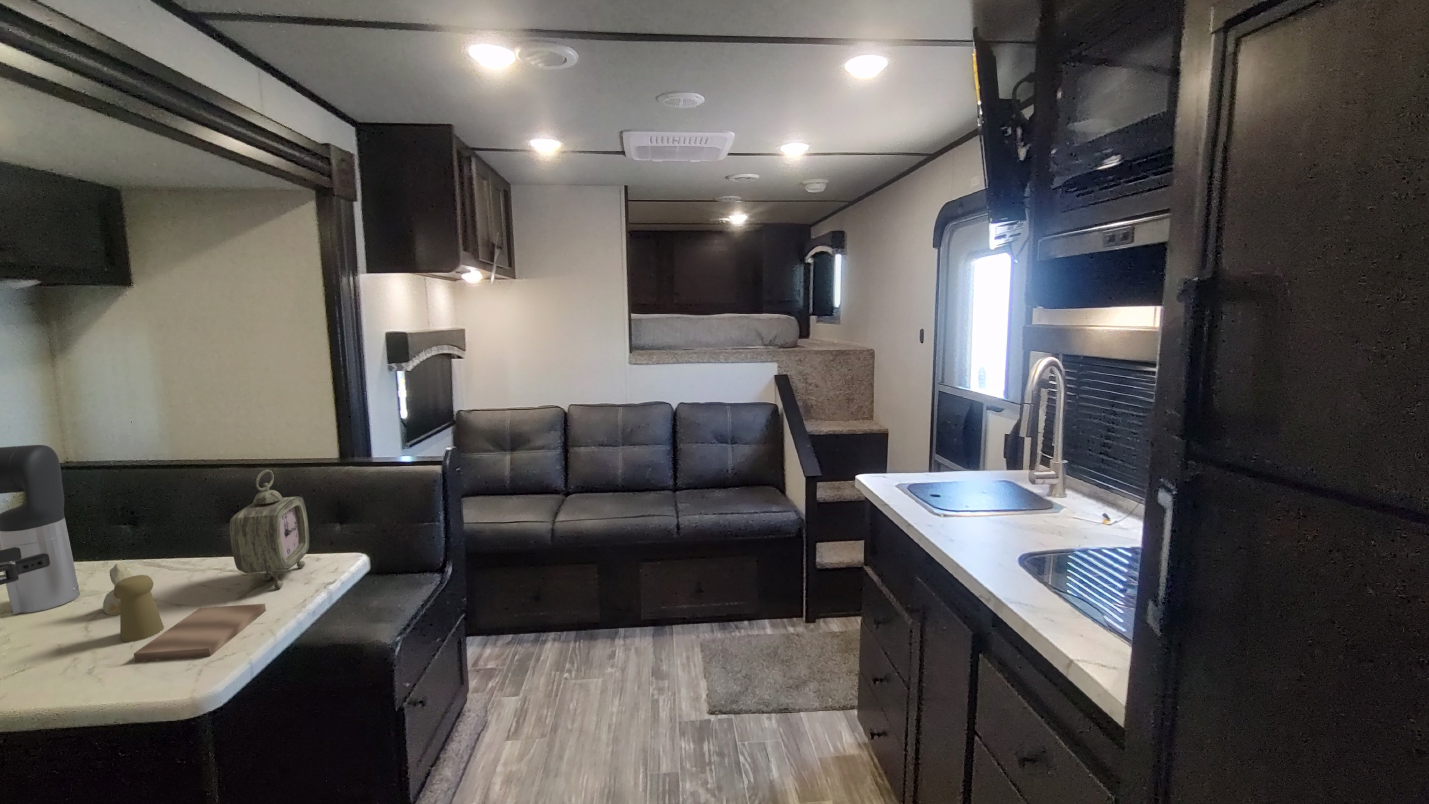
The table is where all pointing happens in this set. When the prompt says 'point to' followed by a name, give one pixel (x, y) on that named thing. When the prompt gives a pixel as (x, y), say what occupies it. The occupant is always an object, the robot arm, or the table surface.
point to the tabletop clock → (270, 533)
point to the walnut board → (201, 632)
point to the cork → (137, 609)
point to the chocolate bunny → (111, 600)
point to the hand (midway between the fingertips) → (33, 555)
